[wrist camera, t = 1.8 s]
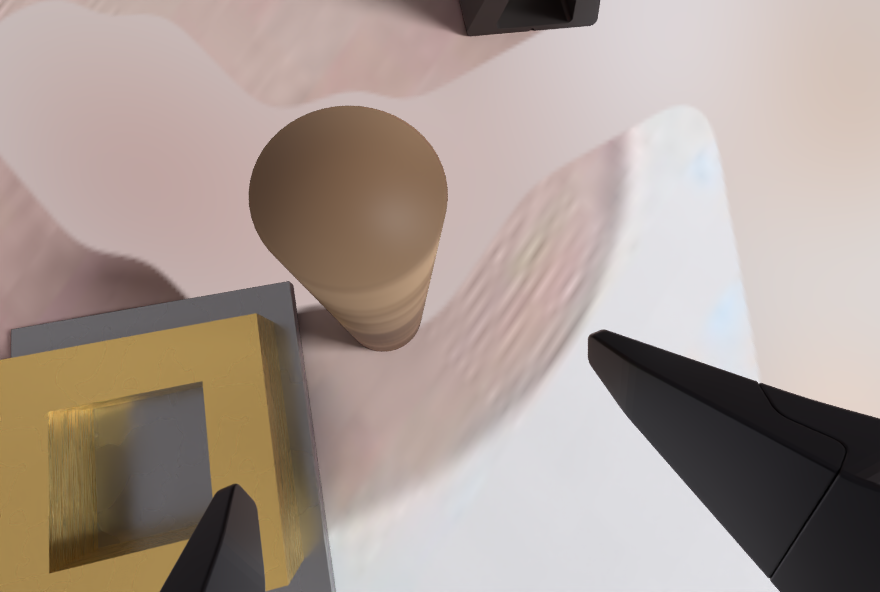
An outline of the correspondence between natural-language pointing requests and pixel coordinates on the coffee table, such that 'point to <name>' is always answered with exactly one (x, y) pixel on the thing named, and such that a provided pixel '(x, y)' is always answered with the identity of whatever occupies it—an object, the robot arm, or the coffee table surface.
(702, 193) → the coffee table surface
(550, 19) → the phone stand
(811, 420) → the robot arm
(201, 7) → the coffee table surface
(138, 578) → the socket
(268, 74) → the coffee table surface
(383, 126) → the pin
